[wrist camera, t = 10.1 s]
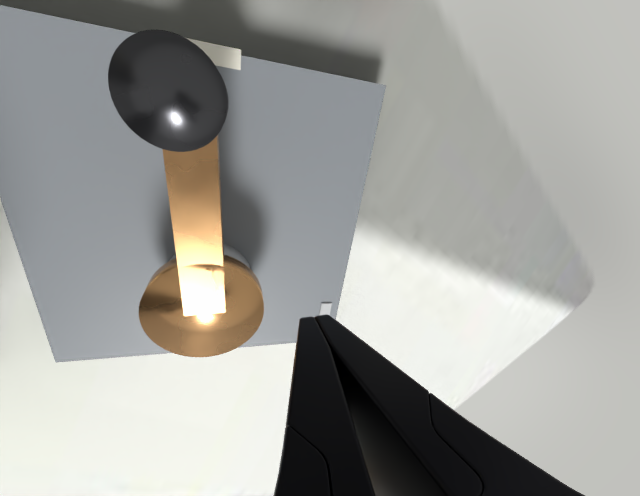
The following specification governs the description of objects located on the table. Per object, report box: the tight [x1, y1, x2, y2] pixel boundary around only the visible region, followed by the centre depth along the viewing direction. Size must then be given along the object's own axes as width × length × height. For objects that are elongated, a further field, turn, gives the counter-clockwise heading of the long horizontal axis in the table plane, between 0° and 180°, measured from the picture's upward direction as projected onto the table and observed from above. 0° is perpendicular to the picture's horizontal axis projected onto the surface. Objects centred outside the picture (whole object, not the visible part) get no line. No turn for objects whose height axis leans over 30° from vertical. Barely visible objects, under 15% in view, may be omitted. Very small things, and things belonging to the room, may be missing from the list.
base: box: [0, 5, 386, 362], centre depth 16 cm, size 18×18×4 cm
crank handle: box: [108, 30, 264, 357], centre depth 12 cm, size 14×6×4 cm, turn 174°
